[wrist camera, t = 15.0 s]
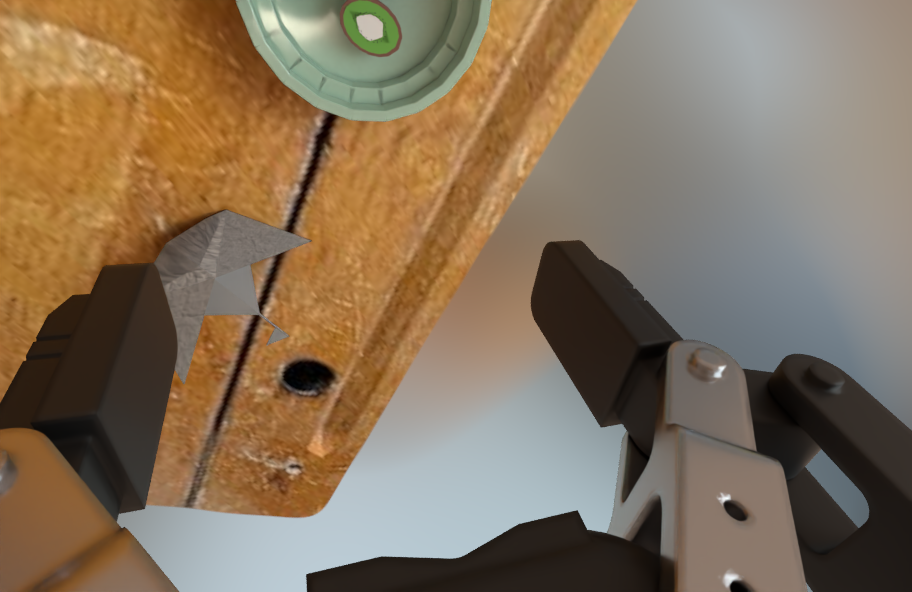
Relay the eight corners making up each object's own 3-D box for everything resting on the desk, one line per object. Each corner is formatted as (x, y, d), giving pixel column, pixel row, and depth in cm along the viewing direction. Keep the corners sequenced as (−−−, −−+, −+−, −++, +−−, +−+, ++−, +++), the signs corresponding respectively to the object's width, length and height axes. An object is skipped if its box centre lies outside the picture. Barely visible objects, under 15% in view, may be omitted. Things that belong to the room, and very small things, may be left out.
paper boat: (242, 162, 28) (359, 268, 32) (232, 181, 34) (333, 269, 37) (75, 326, 25) (229, 424, 28) (95, 317, 30) (221, 399, 34)
